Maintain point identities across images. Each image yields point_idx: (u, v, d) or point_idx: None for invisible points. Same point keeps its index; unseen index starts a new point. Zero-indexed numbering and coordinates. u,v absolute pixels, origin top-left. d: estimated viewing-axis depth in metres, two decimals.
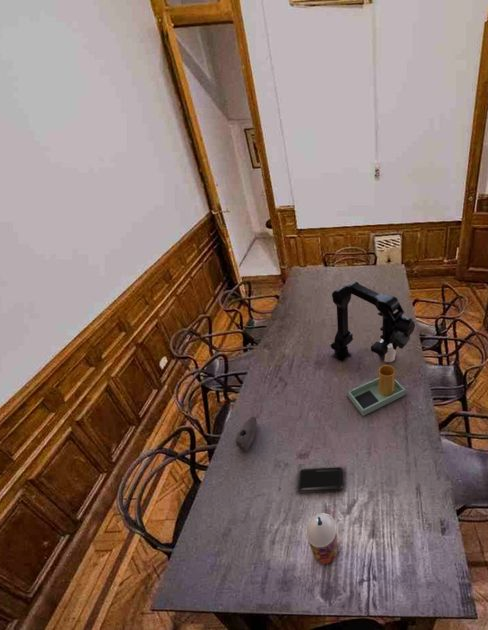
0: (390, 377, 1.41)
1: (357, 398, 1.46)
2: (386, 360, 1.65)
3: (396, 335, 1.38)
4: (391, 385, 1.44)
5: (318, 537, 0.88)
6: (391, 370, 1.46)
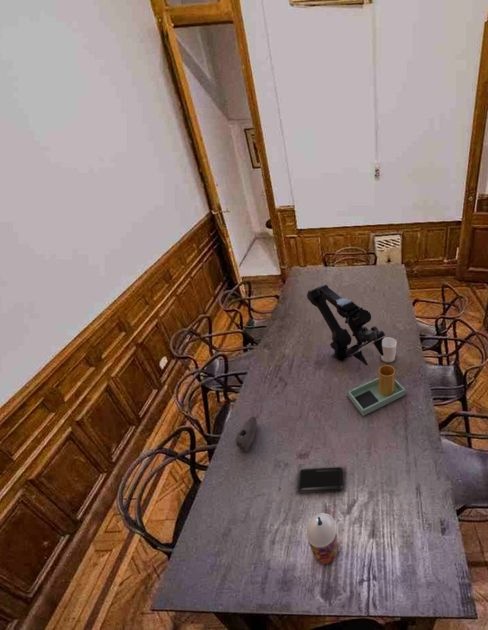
0: (390, 377, 1.41)
1: (357, 398, 1.46)
2: (386, 360, 1.65)
3: (363, 332, 1.44)
4: (391, 385, 1.44)
5: (318, 537, 0.88)
6: (391, 370, 1.46)
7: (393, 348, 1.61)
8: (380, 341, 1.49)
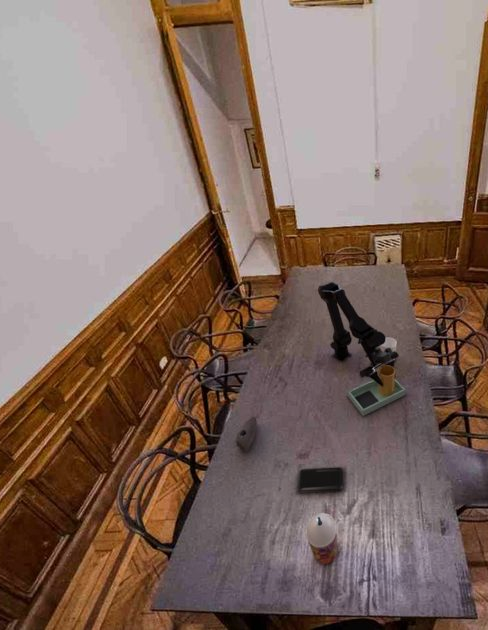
0: (390, 377, 1.41)
1: (357, 398, 1.46)
2: None
3: (377, 354, 1.42)
4: (391, 385, 1.44)
5: (318, 537, 0.88)
6: (391, 370, 1.46)
7: (393, 348, 1.61)
8: (392, 363, 1.46)
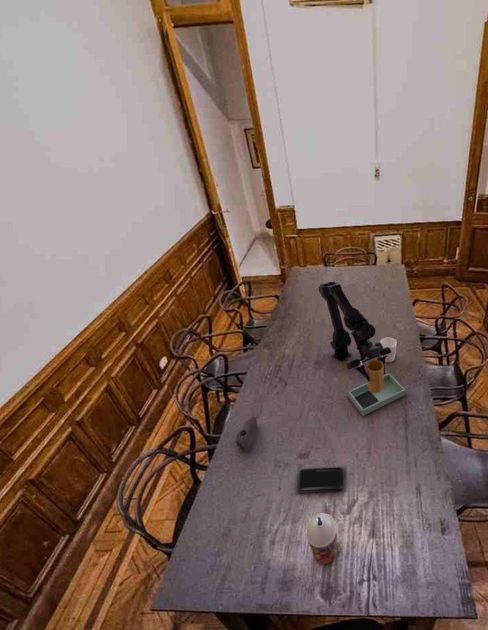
0: (377, 373, 1.35)
1: (357, 398, 1.46)
2: (386, 360, 1.65)
3: (367, 347, 1.37)
4: (378, 381, 1.37)
5: (318, 537, 0.88)
6: (381, 366, 1.39)
7: (393, 348, 1.61)
8: (383, 359, 1.39)
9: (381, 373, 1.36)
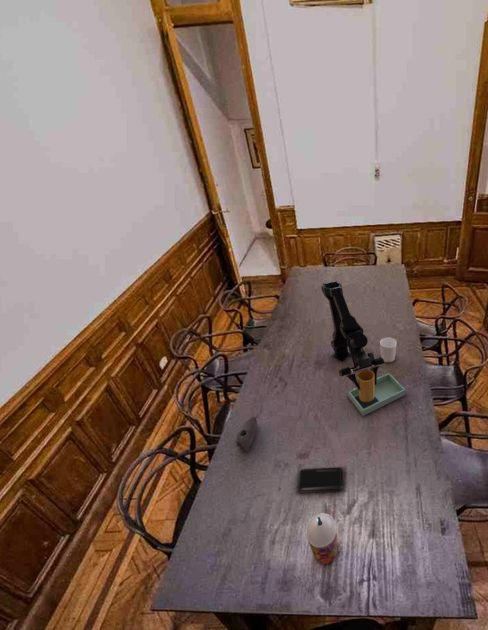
0: (366, 383, 1.35)
1: (357, 398, 1.46)
2: (386, 360, 1.65)
3: (359, 356, 1.37)
4: (368, 391, 1.38)
5: (318, 537, 0.88)
6: (372, 376, 1.39)
7: (393, 348, 1.61)
8: (375, 369, 1.40)
9: (371, 383, 1.36)
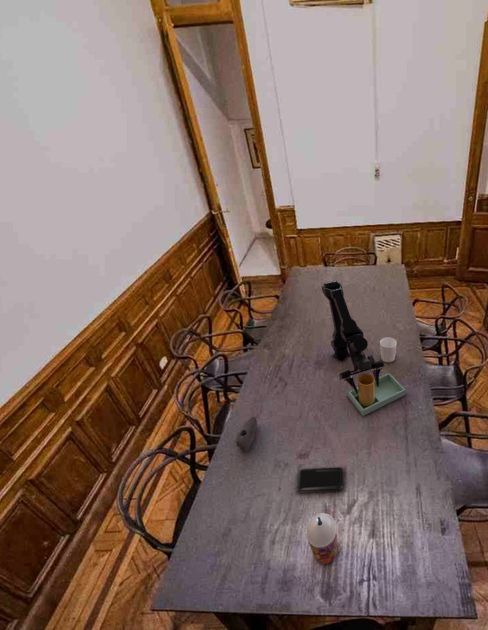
0: (367, 387, 1.36)
1: (357, 398, 1.46)
2: (386, 360, 1.65)
3: (359, 359, 1.38)
4: (368, 395, 1.39)
5: (318, 537, 0.88)
6: (372, 380, 1.41)
7: (393, 348, 1.61)
8: (377, 371, 1.41)
9: (371, 387, 1.37)
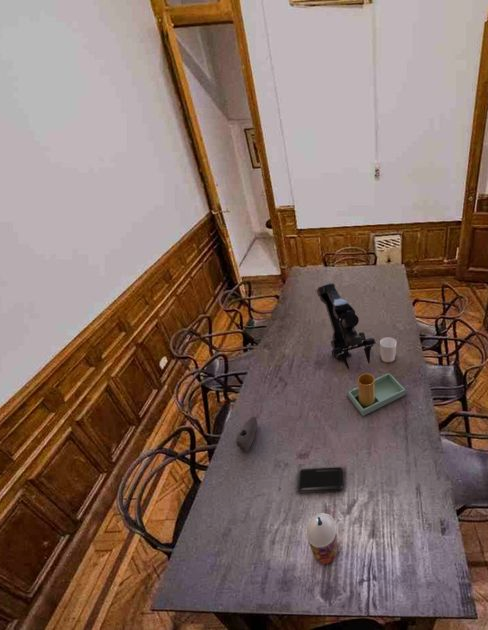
0: (367, 387, 1.36)
1: (357, 398, 1.46)
2: (386, 360, 1.65)
3: (350, 336, 1.42)
4: (368, 395, 1.39)
5: (318, 537, 0.88)
6: (372, 380, 1.41)
7: (393, 348, 1.61)
8: (368, 348, 1.45)
9: (371, 387, 1.37)
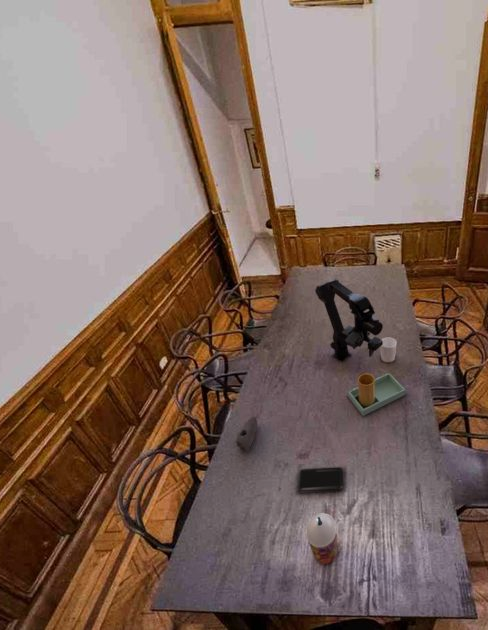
0: (367, 387, 1.36)
1: (357, 398, 1.46)
2: (386, 360, 1.65)
3: (354, 333, 1.45)
4: (368, 395, 1.39)
5: (318, 537, 0.88)
6: (372, 380, 1.41)
7: (393, 348, 1.61)
8: (369, 349, 1.46)
9: (371, 387, 1.37)
